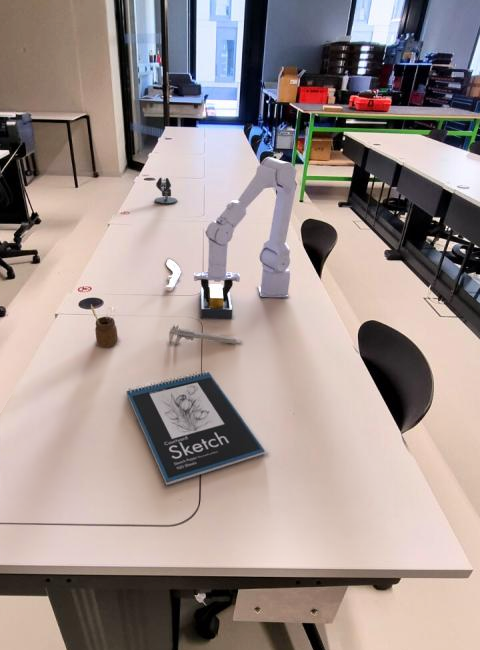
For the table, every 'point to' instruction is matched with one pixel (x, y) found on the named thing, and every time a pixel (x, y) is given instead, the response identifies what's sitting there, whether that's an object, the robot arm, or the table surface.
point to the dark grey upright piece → (165, 192)
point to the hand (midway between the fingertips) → (215, 300)
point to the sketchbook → (192, 427)
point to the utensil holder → (105, 330)
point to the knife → (174, 277)
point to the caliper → (197, 336)
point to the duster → (215, 296)
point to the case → (216, 312)
